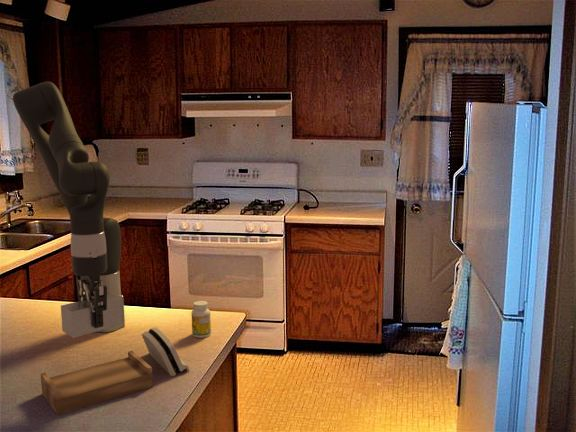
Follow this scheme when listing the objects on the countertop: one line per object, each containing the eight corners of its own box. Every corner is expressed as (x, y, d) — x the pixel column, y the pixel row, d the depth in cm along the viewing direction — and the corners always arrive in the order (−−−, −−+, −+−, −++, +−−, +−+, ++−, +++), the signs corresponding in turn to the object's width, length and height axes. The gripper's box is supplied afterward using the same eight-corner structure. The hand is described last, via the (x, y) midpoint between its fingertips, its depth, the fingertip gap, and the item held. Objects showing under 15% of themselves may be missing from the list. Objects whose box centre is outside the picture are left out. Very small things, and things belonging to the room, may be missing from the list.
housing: (62, 331, 138) (60, 305, 137) (111, 317, 147) (109, 293, 145) (73, 337, 134) (71, 311, 133) (122, 324, 143) (121, 299, 142)
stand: (42, 393, 142) (40, 373, 141) (132, 369, 155) (131, 350, 154) (57, 415, 132) (55, 393, 131) (152, 387, 145) (151, 367, 144)
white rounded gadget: (190, 371, 153) (176, 339, 150) (174, 382, 151) (159, 349, 148) (166, 348, 167) (153, 318, 164) (151, 357, 165) (137, 327, 162)
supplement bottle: (213, 336, 176) (212, 304, 174) (194, 339, 174) (193, 307, 172) (208, 330, 181) (207, 298, 179) (190, 332, 179) (189, 301, 177)
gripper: (62, 247, 141) (67, 317, 144) (82, 261, 129) (87, 336, 133) (94, 243, 145) (98, 310, 148) (117, 255, 134) (121, 328, 137)
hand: (93, 322), depth 140 cm, fingers closed on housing, 6 cm apart
